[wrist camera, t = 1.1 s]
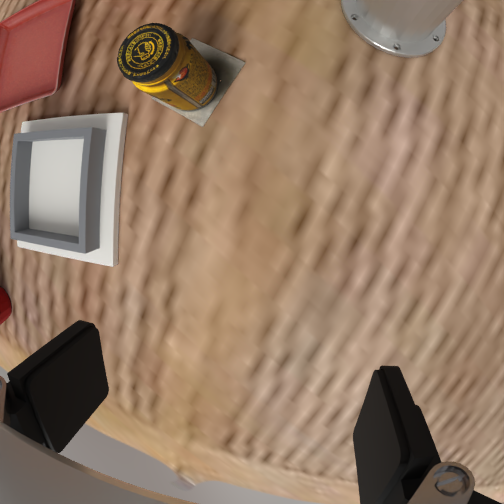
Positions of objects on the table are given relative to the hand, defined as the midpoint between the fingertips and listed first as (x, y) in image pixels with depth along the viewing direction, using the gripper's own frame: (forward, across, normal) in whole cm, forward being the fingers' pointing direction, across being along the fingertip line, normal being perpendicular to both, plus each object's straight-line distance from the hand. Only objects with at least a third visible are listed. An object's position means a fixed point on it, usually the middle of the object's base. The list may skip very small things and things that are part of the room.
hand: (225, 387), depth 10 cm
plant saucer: (+26, +38, -25) cm, 52 cm away
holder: (+25, +28, -4) cm, 38 cm away
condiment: (+26, +10, -16) cm, 32 cm away
